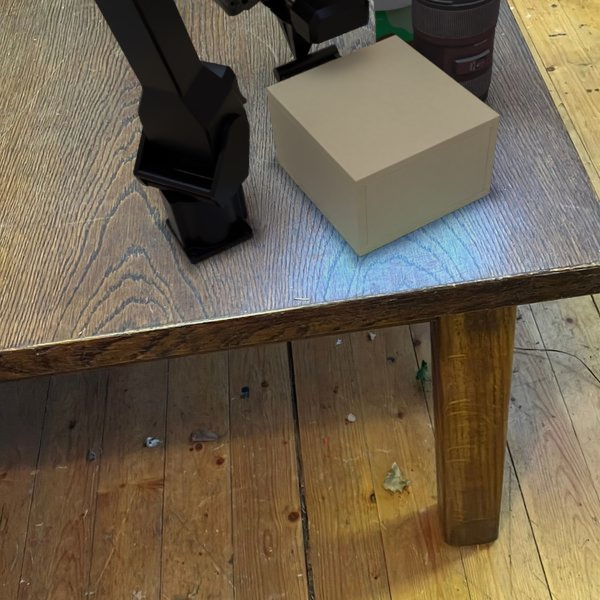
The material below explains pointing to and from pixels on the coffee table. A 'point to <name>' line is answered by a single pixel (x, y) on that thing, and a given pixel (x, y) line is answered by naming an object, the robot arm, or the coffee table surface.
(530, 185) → the coffee table surface
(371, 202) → the tan cardboard box
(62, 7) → the coffee table surface
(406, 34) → the food container
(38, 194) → the coffee table surface
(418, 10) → the camera lens
